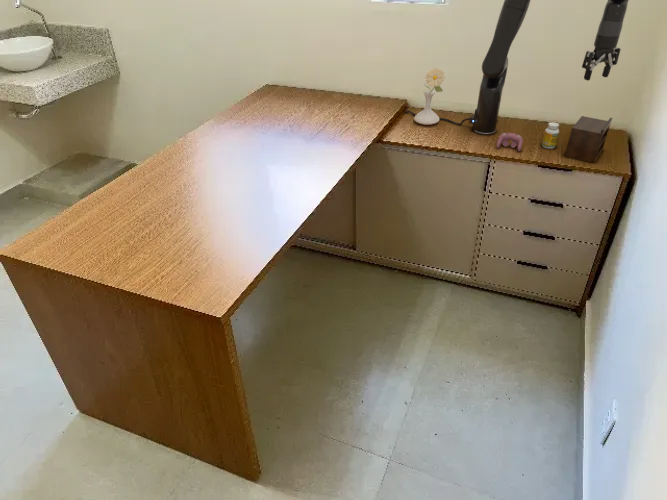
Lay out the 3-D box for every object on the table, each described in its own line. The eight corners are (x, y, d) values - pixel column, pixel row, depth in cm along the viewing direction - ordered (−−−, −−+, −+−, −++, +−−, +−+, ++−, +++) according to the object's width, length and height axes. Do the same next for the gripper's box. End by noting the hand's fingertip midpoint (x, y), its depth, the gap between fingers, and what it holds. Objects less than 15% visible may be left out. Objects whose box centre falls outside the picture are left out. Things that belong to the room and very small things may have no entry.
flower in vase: (408, 122, 232) (412, 66, 217) (424, 115, 238) (429, 61, 223) (431, 130, 224) (436, 73, 209) (447, 123, 230) (453, 67, 215)
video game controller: (520, 152, 207) (525, 135, 206) (520, 151, 203) (524, 134, 202) (496, 148, 211) (500, 131, 209) (495, 147, 207) (499, 130, 205)
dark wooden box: (564, 156, 200) (573, 123, 192) (574, 143, 209) (582, 112, 201) (593, 163, 195) (603, 130, 187) (602, 149, 204) (612, 117, 196)
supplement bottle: (547, 142, 211) (552, 120, 205) (558, 146, 207) (564, 124, 202) (538, 145, 208) (543, 123, 203) (549, 150, 205) (555, 127, 199)
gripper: (615, 28, 186) (602, 73, 196) (585, 32, 182) (573, 78, 192) (632, 33, 180) (618, 78, 190) (600, 37, 176) (588, 83, 186)
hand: (595, 78), depth 191 cm, fingers open, 8 cm apart
